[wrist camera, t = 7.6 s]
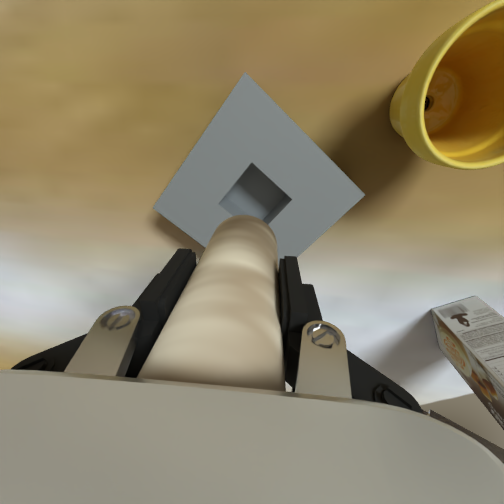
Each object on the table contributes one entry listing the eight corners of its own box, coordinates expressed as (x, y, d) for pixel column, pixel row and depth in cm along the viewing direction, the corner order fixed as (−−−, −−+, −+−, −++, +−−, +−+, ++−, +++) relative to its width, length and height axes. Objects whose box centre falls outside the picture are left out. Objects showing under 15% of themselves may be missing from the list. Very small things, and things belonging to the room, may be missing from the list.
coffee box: (483, 337, 38) (611, 462, 24) (438, 349, 40) (534, 472, 25) (476, 293, 35) (622, 407, 20) (428, 308, 36) (532, 422, 22)
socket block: (350, 185, 29) (365, 194, 25) (262, 269, 35) (261, 290, 31) (249, 82, 26) (245, 71, 21) (169, 197, 32) (152, 207, 27)
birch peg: (290, 244, 15) (345, 551, 4) (248, 284, 16) (206, 584, 6) (239, 200, 14) (131, 457, 3) (199, 248, 15) (34, 529, 5)
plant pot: (355, 149, 28) (394, 157, 19) (393, 32, 23) (469, -29, 14) (444, 165, 28) (524, 181, 19) (500, 52, 23) (639, 4, 14)
